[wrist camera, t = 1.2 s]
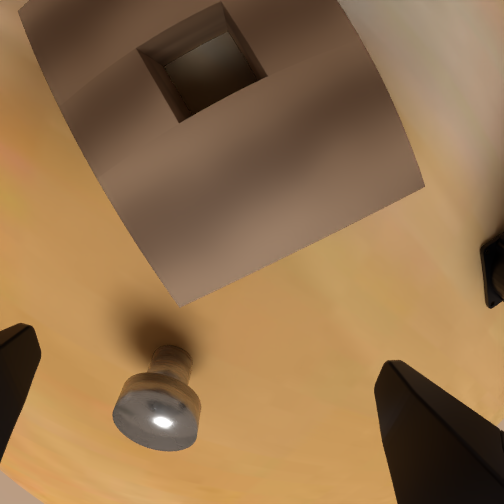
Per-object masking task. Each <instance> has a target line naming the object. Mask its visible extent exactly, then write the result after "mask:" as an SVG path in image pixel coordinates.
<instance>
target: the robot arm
mask: <svg viewBox="0 0 504 504" xmlns="http://www.w3.org/2000/svg"><path fill="white" fill-rule="evenodd" d="M486 250H487V251H486ZM485 252H486V253H485ZM481 260H482V267H483V276H484V285H485V296H486V305H487V307H488V308H490V309H492V308H493V307H495V306H496V305H498V304H499V303H500V302H502V301H503V302H504V232H503V233H501V234H500V235H498V236H497V237H495V238H494V239H492V240H491V241H489V242H488V243H486V244H485V245H483V246H482V248H481ZM40 359H41V349H40V346H39V342H38V339H37V336H36V333H35V330H34V328H33V327H32V326H31V325H27V324H24V323H18V324H16V325H14V326H11V327H9V328H7V329H4V330H2V331H0V462H1V460H2V457H3V454H4V452H5V449H6V446H7V444H8V441H9V439H10V436H11V434H12V431H13V429H14V426H15V424H16V422H17V419H18V417H19V415H20V413H21V410H22V408H23V405H24V403H25V400H26V398H27V395H28V392H29V389H30V386H31V383H32V380H33V378H34V375H35V372H36V370H37V367H38V364H39V362H40ZM374 394H375V400H376V406H377V412H378V418H379V424H380V431H381V437H382V443H383V447H384V451H385V455H386V458H387V462H388V466H389V470H390V474H391V478H392V482H393V487H394V491H395V495H396V499H397V504H504V431H502V430H501V431H500V429H499V428H498V427H496V426H495V425H493V424H492V423H491V422H489V421H488V420H486V419H485V418H483V417H482V416H480V415H479V414H478V413H476V412H475V411H473V410H472V409H470V408H469V407H468V406H466V405H465V404H463V403H462V402H460V401H459V400H457V399H456V398H455V397H453V396H452V395H450V394H449V393H447V392H446V391H445V390H443V389H442V388H440V387H439V386H437V385H436V384H435V383H433V382H432V381H430V380H429V379H427V378H426V377H425V376H423V375H422V374H420V373H419V372H417V371H416V370H415V369H413V368H412V367H410V366H409V365H407V364H406V363H405V362H403V361H401V360H388V361H386V362H385V363H384V365H383V367H382V369H381V371H380V374H379V376H378V378H377V381H376V383H375V387H374Z"/></svg>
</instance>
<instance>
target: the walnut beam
mask: <svg viewBox="0 0 504 504" xmlns="http://www.w3.org/2000/svg"><path fill="white" fill-rule="evenodd" d="M18 13H19V16H20V18H21V21H22V24H23V26H24V29H25V32H26V34H27V37H28V39H29V42H30V44H31V46H32V49H33V51H34V54H35V56H36V58H37V61H38V63H39V65H40V68H41V70H42V72H43V74H44V76H45V79H46V81H47V83H48V85H49V87H50V90H51V92H52V94H53V96H54V98H55V100H56V102H57V104H58V106H59V108H60V110H61V112H62V114H63V116H64V118H65V120H66V122H67V124H68V126H69V128H70V130H71V132H72V134H73V136H74V138H75V140H76V142H77V144H78V145H79V147H80V149H81V151H82V153H83V155H84V157H85V158H86V160H87V162H88V164H89V166H90V167H91V169H92V171H93V173H94V174H95V176H96V178H97V180H98V182H99V183H100V185H101V187H102V188H103V190H104V192H105V194H106V195H107V197H108V199H109V200H110V202H111V204H112V205H113V207H114V209H115V210H116V212H117V214H118V215H119V217H120V219H121V220H122V222H123V223H124V225H125V227H126V228H127V230H128V231H129V233H130V235H131V236H132V238H133V239H134V241H135V242H136V244H137V246H138V247H139V249H140V250H141V252H142V253H143V255H144V256H145V258H146V259H147V261H148V262H149V264H150V265H151V267H152V268H153V270H154V271H155V273H156V274H157V276H158V277H159V279H160V280H161V282H162V283H163V285H164V286H165V288H166V289H167V290H168V292H169V293H170V295H171V296H172V298H173V299H174V300H175V302H176V303H177V305H178V306H179V307H182V306H184V305H186V304H188V303H191V302H193V301H195V300H197V299H199V298H201V297H203V296H205V295H207V294H210V293H212V292H214V291H216V290H218V289H220V288H222V287H224V286H226V285H228V284H230V283H233V282H235V281H237V280H239V279H241V278H243V277H245V276H247V275H249V274H251V273H253V272H255V271H257V270H260V269H262V268H264V267H266V266H268V265H270V264H272V263H274V262H276V261H278V260H280V259H282V258H284V257H286V256H288V255H290V254H292V253H294V252H296V251H298V250H300V249H303V248H305V247H307V246H309V245H311V244H313V243H315V242H317V241H319V240H321V239H323V238H325V237H327V236H329V235H331V234H333V233H335V232H337V231H339V230H341V229H343V228H345V227H347V226H349V225H351V224H353V223H355V222H357V221H359V220H361V219H363V218H365V217H367V216H369V215H371V214H373V213H375V212H377V211H379V210H380V209H382V208H384V207H386V206H388V205H390V204H392V203H394V202H396V201H398V200H400V199H402V198H404V197H406V196H408V195H410V194H412V193H414V192H416V191H418V190H420V189H421V188H423V187H425V184H424V181H423V178H422V175H421V172H420V169H419V167H418V164H417V161H416V158H415V155H414V153H413V150H412V147H411V145H410V142H409V140H408V137H407V134H406V132H405V129H404V127H403V125H402V122H401V120H400V117H399V115H398V113H397V111H396V108H395V106H394V104H393V102H392V99H391V97H390V95H389V93H388V91H387V89H386V87H385V84H384V82H383V80H382V78H381V76H380V74H379V72H378V70H377V68H376V66H375V64H374V63H373V61H372V59H371V57H370V55H369V53H368V51H367V50H366V48H365V46H364V44H363V42H362V41H361V39H360V37H359V35H358V34H357V32H356V30H355V29H354V27H353V25H352V24H351V22H350V20H349V19H348V17H347V15H346V14H345V12H344V11H343V9H342V8H341V6H340V4H339V3H338V1H337V0H29V1H28V2H27V3H26V4H25V5H24V6H23V7H22V8H21V9H20V10H19V11H18ZM226 32H229V33H230V35H231V37H232V38H233V40H234V41H235V43H236V45H237V46H238V48H239V49H240V51H241V53H242V54H243V56H244V58H245V59H246V61H247V63H248V64H249V66H250V68H251V69H252V71H253V73H254V75H255V76H256V78H257V80H258V81H257V82H255V83H253V84H251V85H249V86H247V87H245V88H243V89H241V90H239V91H237V92H235V93H233V94H231V95H229V96H227V97H225V98H224V99H222V100H220V101H218V102H216V103H214V104H212V105H211V106H209V107H207V108H205V109H203V110H202V111H200V112H198V113H196V114H195V115H193V116H192V115H191V114H190V112H189V110H188V108H187V107H186V105H185V103H184V101H183V100H182V98H181V96H180V94H179V93H178V91H177V89H176V88H175V86H174V84H173V82H172V81H171V79H170V77H169V75H168V74H167V72H166V70H165V69H164V67H163V66H165V65H167V64H168V63H170V62H172V61H173V60H175V59H177V58H179V57H180V56H182V55H184V54H186V53H187V52H189V51H191V50H193V49H195V48H196V47H198V46H200V45H202V44H204V43H206V42H208V41H210V40H212V39H214V38H216V37H218V36H220V35H222V34H224V33H226Z"/></svg>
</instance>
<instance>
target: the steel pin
mask: <svg viewBox="0 0 504 504" xmlns="http://www.w3.org/2000/svg"><path fill="white" fill-rule="evenodd" d="M191 369H192V359H191V357H190V355H189V354H188V353H187V352H186V351H184V350H183V349H181V348H179V347H176V346H170V345H167V346H162V347H160V348H158V349H157V350H156V351H155V353H154V355H153V358H152V360H151V363H150V366H149V368H148V371H147V373H139V374H136V375H133V376H131V377H130V378H129V379H128V380H127V381H126V382H125V384H124V386H123V388H122V391H121V393H120V395H119V398H118V400H117V403H116V405H115V408H114V410H113V420H114V423H115V425H116V426H117V428H118V429H119V430H120V431H121V432H122V433H123V434H124V435H125V436H126V437H128V438H129V439H131V440H132V441H134V442H136V443H138V444H140V445H142V446H145V447H147V448H151V449H155V450H160V451H179V450H183V449H186V448H188V447H190V446H191V445H192V444H193V443H194V442H195V440H196V438H197V432H198V425H199V418H200V412H201V403H200V400H199V398H198V396H197V394H196V393H195V392H194V391H193V390H192V389H191V388H190V387H189V386H188V383H189V379H190V374H191Z"/></svg>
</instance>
